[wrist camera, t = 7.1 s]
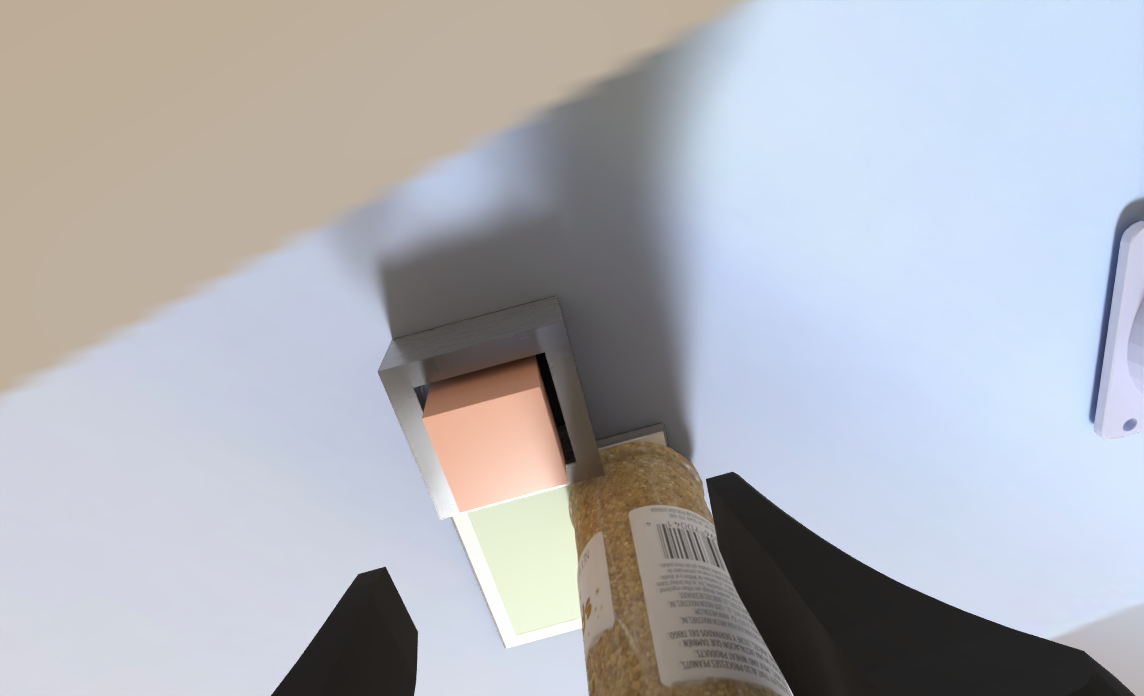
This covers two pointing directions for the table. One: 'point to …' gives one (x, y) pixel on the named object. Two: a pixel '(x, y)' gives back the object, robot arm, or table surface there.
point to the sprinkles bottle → (660, 585)
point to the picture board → (532, 556)
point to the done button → (495, 434)
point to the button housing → (478, 348)
